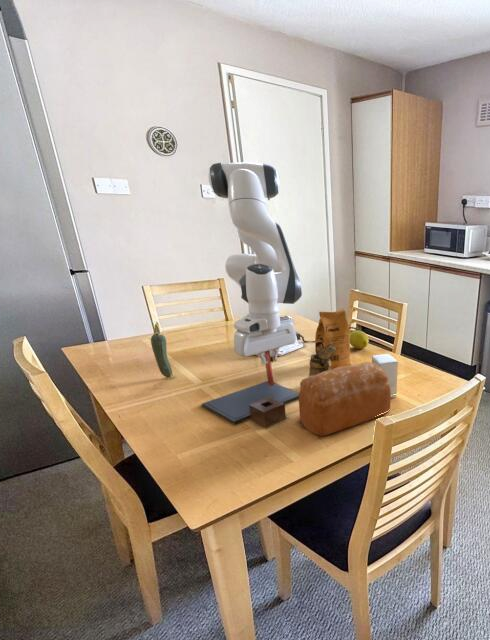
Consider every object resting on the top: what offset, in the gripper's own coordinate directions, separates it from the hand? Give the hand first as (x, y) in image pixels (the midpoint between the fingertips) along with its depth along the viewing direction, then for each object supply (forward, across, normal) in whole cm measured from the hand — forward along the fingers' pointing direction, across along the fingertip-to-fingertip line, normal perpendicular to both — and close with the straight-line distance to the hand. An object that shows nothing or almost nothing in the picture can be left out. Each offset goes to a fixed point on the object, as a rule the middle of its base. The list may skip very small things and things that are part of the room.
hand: (269, 362), depth 130 cm
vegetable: (+12, +16, -37) cm, 42 cm away
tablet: (+11, +7, 0) cm, 13 cm away
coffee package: (+11, -32, -5) cm, 34 cm away
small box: (+11, -25, +27) cm, 39 cm away
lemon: (+11, -54, -12) cm, 57 cm away
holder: (+11, +11, +13) cm, 20 cm away
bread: (+12, -5, +29) cm, 32 cm away
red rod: (+8, 0, 0) cm, 8 cm away
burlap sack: (+12, -14, +9) cm, 20 cm away
